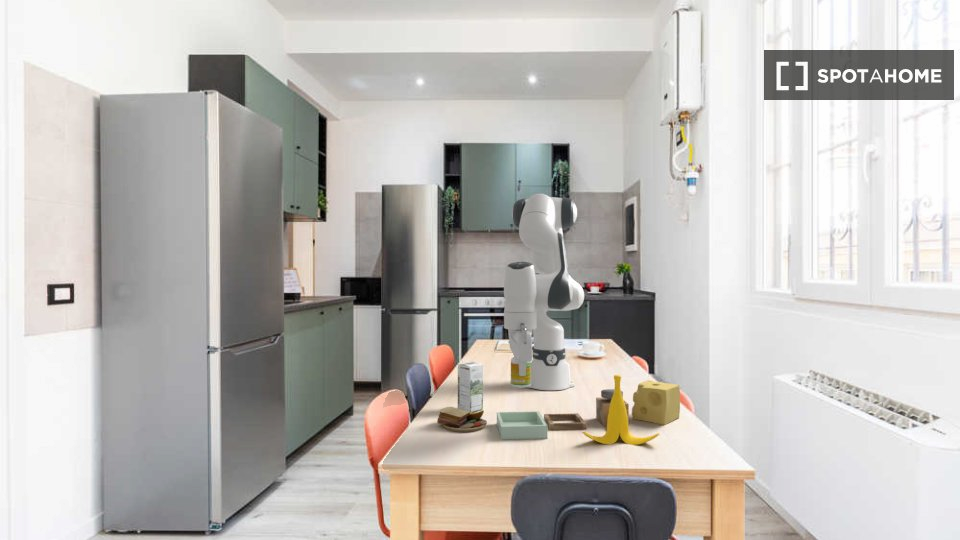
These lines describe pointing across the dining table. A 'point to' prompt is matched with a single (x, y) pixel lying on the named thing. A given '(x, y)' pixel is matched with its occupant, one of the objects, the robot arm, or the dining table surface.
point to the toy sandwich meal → (461, 420)
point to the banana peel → (618, 421)
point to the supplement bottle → (516, 378)
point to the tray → (521, 425)
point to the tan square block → (606, 406)
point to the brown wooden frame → (565, 426)
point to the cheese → (656, 402)
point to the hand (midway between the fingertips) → (520, 372)
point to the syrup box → (470, 386)
